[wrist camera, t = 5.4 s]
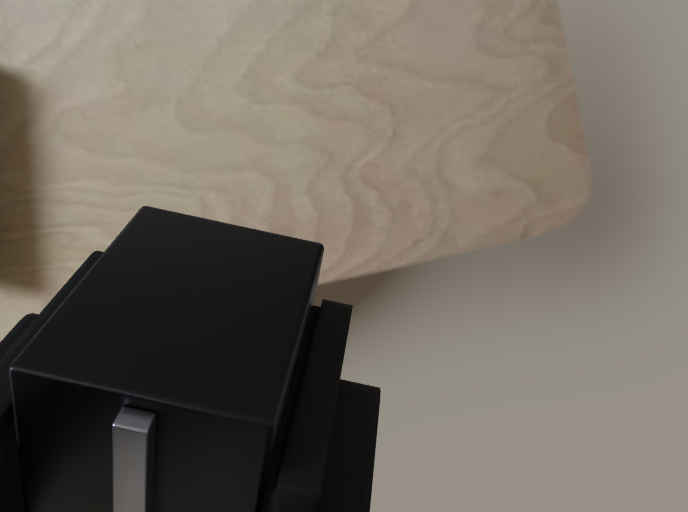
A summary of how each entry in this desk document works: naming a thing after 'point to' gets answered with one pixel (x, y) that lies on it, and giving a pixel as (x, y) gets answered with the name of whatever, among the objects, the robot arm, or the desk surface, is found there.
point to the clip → (165, 370)
